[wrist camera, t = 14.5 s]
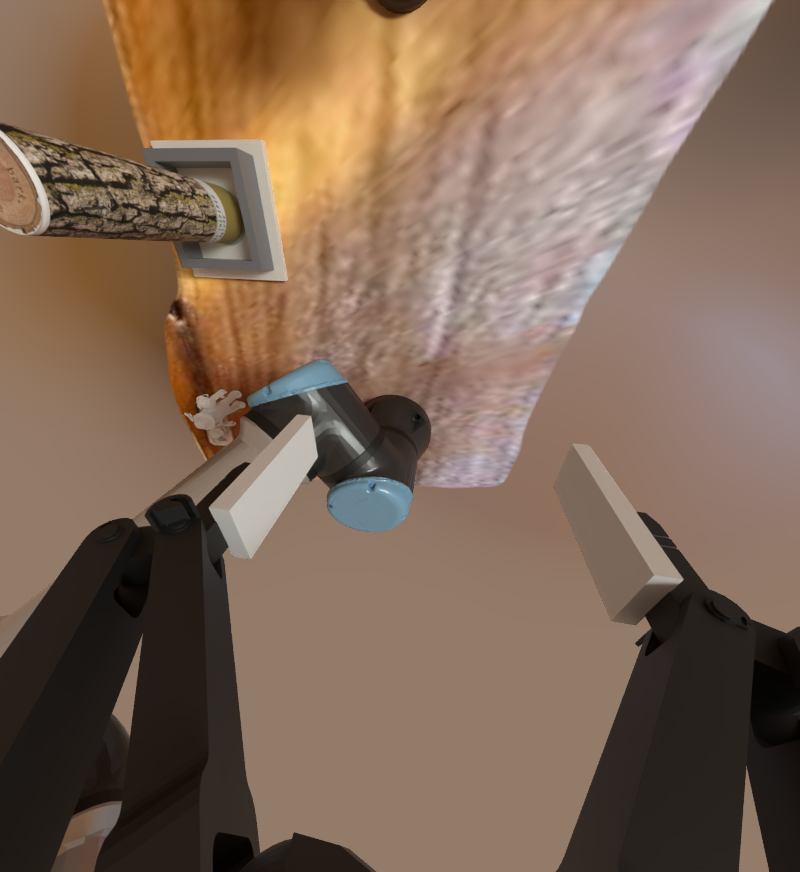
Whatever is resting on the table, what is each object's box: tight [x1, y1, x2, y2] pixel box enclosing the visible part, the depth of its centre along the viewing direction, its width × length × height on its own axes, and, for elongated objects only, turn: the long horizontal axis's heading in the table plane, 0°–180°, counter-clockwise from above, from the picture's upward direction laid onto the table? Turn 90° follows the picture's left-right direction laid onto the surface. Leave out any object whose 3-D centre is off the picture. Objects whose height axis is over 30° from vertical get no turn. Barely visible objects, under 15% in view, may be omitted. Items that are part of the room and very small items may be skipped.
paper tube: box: [0, 122, 242, 243], centre depth 31 cm, size 7×7×25 cm
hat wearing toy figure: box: [184, 389, 246, 439], centre depth 55 cm, size 9×4×12 cm, turn 179°
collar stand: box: [142, 139, 288, 281], centre depth 40 cm, size 16×16×4 cm
